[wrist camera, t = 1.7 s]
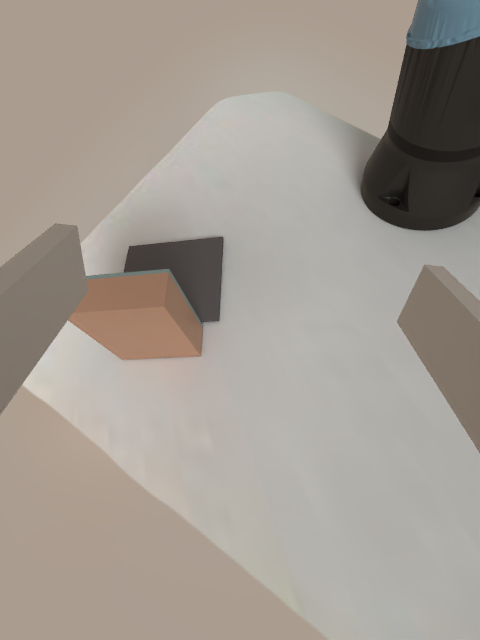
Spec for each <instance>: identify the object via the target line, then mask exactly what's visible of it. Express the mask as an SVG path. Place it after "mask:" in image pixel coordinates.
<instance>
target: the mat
mask: <svg viewBox="0 0 480 640" xmlns="http://www.w3.org/2000/svg"><path fill="white" fill-rule="evenodd" d="M222 255H223V237H217V238H208V239H198V240H188V241H178V242H168V243H158V244H148V245H138V246H129V250H128V254H127V259H126V264H125V269H124V273H127V272H138V271H150V270H161V269H170V271H171V273H172V274H173V276H174V278H175V279H176V281H177V283H178V284H179V286H180V288H181V289H182V291H183V293H184V294H185V296H186V298H187V299H188V301H189V303H190V304H191V306H192V308H193V309H194V311H195V313H196V314H197V316H198V318H199V319H200V321H201V322H209V321H219V314H220V294H221V274H222Z"/></svg>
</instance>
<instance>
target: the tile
mask: <svg viewBox="0 0 480 640" xmlns="http://www.w3.org/2000/svg"><path fill="white" fill-rule="evenodd" d="M86 281H87V287H88V292H87V294H86V295H85V296H84V298H83V299H82V301H81V302H80V303H79V305H78V306H77V308H76V309H75V310H74V312H73V313H72V315H71V316H70V318H69V319H68V320H69V321H70V322H71V323H73V324H74V325H75V326H77V327H78V328H79V329H81V330H82V331H83V332H85V333H86V334H88V335H89V336H90V337H92V338H93V339H94V340H96V341H97V342H98V343H100V344H101V345H103V346H104V347H105V348H107V349H108V350H109V351H111V352H112V353H113V354H115V355H116V356H118V357H119V358H120V359H122V360H126V359H149V358H171V357H193V356H201V349H202V335H203V324H202V323H201V321H200V319H199V318H198V316H197V314H196V313H195V311H194V309H193V308H192V306H191V304H190V303H189V301H188V299H187V298H186V296H185V294H184V293H183V291H182V289H181V288H180V286H179V284H178V283H177V281H176V279H175V278H174V276H173V274H172V273H171V271H170V269H161V270H150V271H138V272H127V273H116V274H104V275H93V276H86Z"/></svg>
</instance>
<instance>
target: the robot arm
mask: <svg viewBox="0 0 480 640" xmlns="http://www.w3.org/2000/svg"><path fill="white" fill-rule="evenodd" d="M406 39H407V46H406V49H405V54H404V59H403V63H402V67H401V72H400V76H399V81H398V85H397V90H396V94H395V98H394V103H393V107H392V112H391V117H390V121H389V125H388V129H387V131H386V132H385V134H384V136H383V137H382V139H381V141H380V142H379V144H378V146H377V147H376V149H375V151H374V152H373V154H372V156H371V157H370V159H369V161H368V162H367V165H366V167H365V170H364V174H363V180H362V185H361V191H362V196H363V199H364V201H365V203H366V205H367V206H368V207H369V209H370V210H371V211H372V212H373V213H374V214H375V215H377V216H378V217H379V218H381V219H383V220H384V221H386V222H388V223H390V224H393V225H396V226H399V227H402V228H407V229H412V230H438V229H443V228H447V227H451V226H454V225H456V224H459V223H461V222H463V221H464V220H466V219H468V218H469V217H470V216H471V215H472V214H474V213H475V211H476V210H477V209H478V208H479V206H480V0H418V3H417V7H416V10H415V14H414V18H413V21H412V24H411V26H410V28H409V30H408V33H407V37H406ZM87 292H88V287H87V281H86V275H85V269H84V263H83V258H82V252H81V246H80V240H79V234H78V229H77V226H72V225H63V224H54V225H53V226H52V227H50V228H49V229H48V230H47V231H45V232H44V233H43V234H42V235H41V236H39V237H38V238H37V239H35V240H34V241H33V242H31V243H30V244H29V245H28V246H27V247H25V248H24V249H23V250H21V251H20V252H19V253H18V254H16V255H15V256H14V257H13V258H11V259H10V260H9V261H8V262H6V263H5V264H4V265H3V266H1V267H0V414H1V413H2V412H3V410H4V409H5V408H6V406H7V405H8V403H9V402H10V401H11V399H12V398H13V396H14V395H15V393H16V392H17V390H18V389H19V388H20V386H21V385H22V384H23V382H24V381H25V379H26V378H27V377H28V375H29V374H30V372H31V371H32V370H33V368H34V367H35V365H36V364H37V363H38V361H39V360H40V358H41V357H42V356H43V354H44V353H45V351H46V350H47V348H48V347H49V346H50V344H51V343H52V341H53V340H54V339H55V337H56V336H57V334H58V333H59V332H60V330H61V329H62V327H63V326H64V325H65V323H66V322H67V320H68V319H69V318H70V316H71V315H72V313H73V312H74V310H75V309H76V308H77V306H78V305H79V303H80V302H81V301H82V299H83V298H84V296H85V295H86V294H87ZM397 323H398V324H399V326H400V328H401V329H402V331H403V332H404V334H405V335H406V337H407V339H408V340H409V342H410V343H411V345H412V347H413V348H414V350H415V351H416V353H417V354H418V356H419V358H420V359H421V361H422V362H423V364H424V365H425V367H426V369H427V370H428V372H429V373H430V375H431V377H432V378H433V380H434V381H435V383H436V384H437V386H438V388H439V389H440V391H441V392H442V394H443V395H444V397H445V399H446V400H447V402H448V403H449V405H450V407H451V408H452V410H453V411H454V413H455V414H456V416H457V418H458V419H459V421H460V422H461V424H462V426H463V427H464V429H465V430H466V432H467V433H468V435H469V437H470V438H471V440H472V441H473V443H474V444H475V446H476V448H477V449H478V451H479V452H480V301H479V300H478V299H477V298H476V297H475V296H474V295H473V294H472V293H470V292H469V291H468V290H467V289H466V288H465V287H464V286H463V285H462V284H461V283H460V282H459V281H458V280H457V279H456V278H455V277H454V276H452V275H451V274H450V273H449V272H448V271H447V270H446V269H445V268H444V267H441V266H432V265H424V267H423V269H422V271H421V273H420V275H419V277H418V279H417V281H416V283H415V285H414V287H413V289H412V291H411V293H410V295H409V298H408V300H407V302H406V304H405V306H404V308H403V310H402V312H401V314H400V316H399V318H398V320H397Z"/></svg>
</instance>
